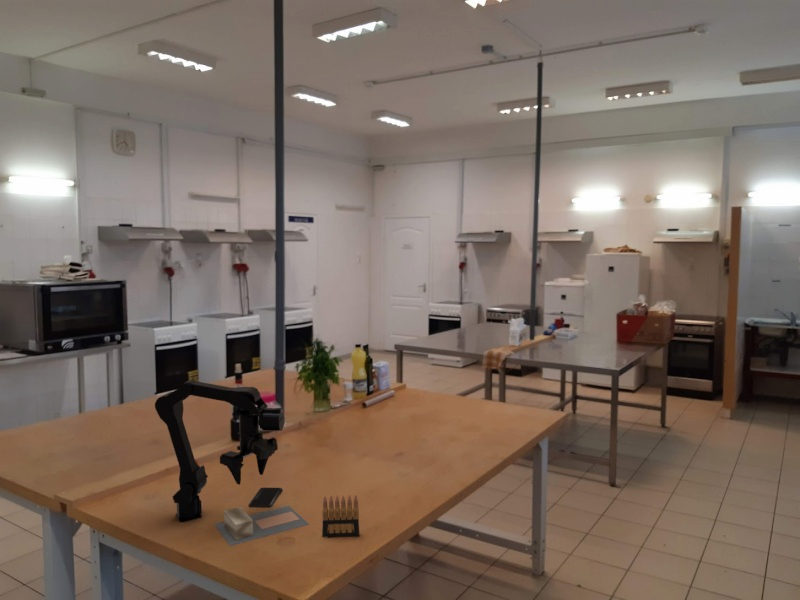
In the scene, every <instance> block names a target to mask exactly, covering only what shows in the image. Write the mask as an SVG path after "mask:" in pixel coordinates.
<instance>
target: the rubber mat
mask: <svg viewBox="0 0 800 600" xmlns="http://www.w3.org/2000/svg"><path fill="white" fill-rule="evenodd" d="M248 516H249V517H250V518H251V519H252V520H253V536H249V537H245V538H242V539H238V540H236V539H235V538H234V537H233V535H232V534H231V533H230V532H229V530H228V529H227V528H226V526H225V522H224V521H222V522H217V523H214V524H213V525H214V526H215V528H216V529H217V531H218V532H219V534H220V535H221V537H223V539H224V540H225V541H226V543H227V544H228V545H229V547H231V546H236V545H239V544H243V543H247V542H250V541H253V540H257V539H261V538H265V537H269V536H272V535H276V534H280V533H283V532H287V531H290V530H293V529H298V528H301V527H305V526H308V525H310V524H309V523H308V521H306V520H305V519H304V518H303V517H302V516H301V515H300V514H299V513H298V512H297V511H296V510H294V509H293V508H292V506H290V505H285V506H282V507H278V508H274V509H273V508H272V509H270V510H266V511H261V512H258V513H253V514H250V515H248Z"/></svg>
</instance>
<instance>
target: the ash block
mask: <svg viewBox="0 0 800 600" xmlns="http://www.w3.org/2000/svg"><path fill="white" fill-rule="evenodd" d="M223 515H224V516H223V519H224V521H223V522H225V526H226V528H227V529H228V530H229V532H230V533H231V534H232V535H233V537H234V538H235V539H236V540H238V539H242V538H245V537H249V536H253V520H252V519H251V518H250V517H249V515H248V513H247V512H246V511H245V510H244V509H243V508H242V507H241V506H239V507H235V508H229V509H226V510H223Z"/></svg>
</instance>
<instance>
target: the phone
mask: <svg viewBox="0 0 800 600" xmlns="http://www.w3.org/2000/svg"><path fill="white" fill-rule="evenodd" d="M282 493H283V488H282V487H260V488H259V490H258V491H257V492H256V493H255V494H254V497H252V499H251V500H250V502H249V503H248V507H249V508H264V509H265V508H268V509H269V508H272V507H273V506H274V504H275V503H276V502H277V500H278V498H279V497H280V496H281V495H282Z"/></svg>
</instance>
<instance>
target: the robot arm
mask: <svg viewBox="0 0 800 600" xmlns="http://www.w3.org/2000/svg"><path fill="white" fill-rule="evenodd" d="M190 396H192V397H193V396H194V397H198V398H204V399H209V400H210V399H211V400H215V401H220V402H226V403H228V404H230V405H231V406H232V407H235V408H236V410H235V411H233V412H232V414H231V415H232V417H238V418H239V420H238V421H239V424H238V425H239V432H237V433H236V437H238V438H239V445H237V446H236V450H238V451H239V452H236V451H233V450H229V451H227V452H224V453H221V455H220V456H219V464H221V465H223V466H226V467H227V469H228V470H229V472H230V474H231V475H232V477H233V479H234V481H235V483H236V484H237V485H241V481H242V468H243V466H244V463H243V462H244V458H246V457H248V456H252V455H255V458H256V463H257V470H258V474H259V475H260V476H263V475H264V472H265V469H266V466H267V464H268V460H269V459H270V457H272V456H273V454H275V453H276V452H275V451H278V441H277V438H276V437H270V438H269V439H268V438H264V437H263V436H264V435H263V432H262V431H271V432H272V431H273V432H274V431H276V432H281V431H283V429H284V425H285V416H284V412H283V408H282V407H275V408H273V407H269V406H268V405H267V403H266V401H264V399H263V398H262V397H261V393H260V391H259V389H258V388H257V387H255V386H238V387H230V386H229V387H228V386H223V385H219V384H213V383H208V382H202V381H197V380H195V379H190V380H187V381H186V382H184V383H182V385H181V386H179V387H177V388H176V389H175V390H173V391H169V392H167V393H165V394H163V395H161V396H159V397H158V398H157V399H156V401H155V403H154V409H155V411H156V413H157V415H158V417H159V419H160V420H161V421H162V422H163V423H164V424H165V425H166V427H167V430H168V434H169V438H170V441H171V443H172V446H173V450H174V452H175V456H176V459H177V464H178V466H179V477H178V482H179V490H177V491H176V493H174V495H173V496H172V500H173V502H174V504H176V513H175V517H176V519H177V520H178V522H179V523H185V522H188V521H192V520H197V519H202V513H203V509H202V500H201V499H200V496H199V494H200V493H201V492H202V490H203V488H204V487H205V486H206V484H207V483H208V482H207V481H208V480H207V479H208V478H209V475H207V472H206V469H205V465H203V464H202V465H201V466H200V465H199V464H198V463H197V462H196V460H195V455H194V453H193V450H192V446H191V443H190V439H189V436H188V434H187V429H186V426H185V423H184V419H183V418H184V417H183V416H184V401H185V400H186V399H188V397H190ZM260 429H261V430H262V431H260Z"/></svg>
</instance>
